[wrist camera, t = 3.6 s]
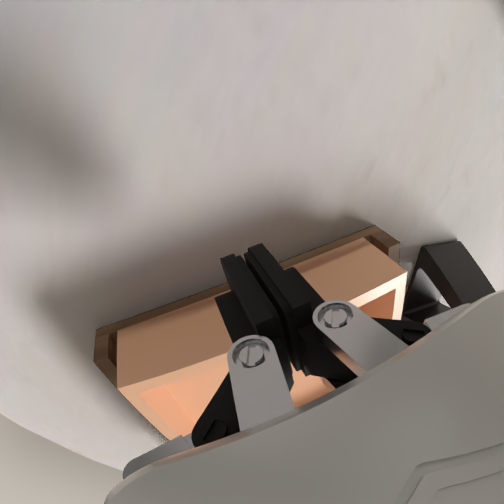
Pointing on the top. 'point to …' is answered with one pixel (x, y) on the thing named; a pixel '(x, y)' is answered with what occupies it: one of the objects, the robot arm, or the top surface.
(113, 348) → the tray
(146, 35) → the top surface
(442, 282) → the phone stand
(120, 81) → the top surface
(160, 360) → the orange shallow box
